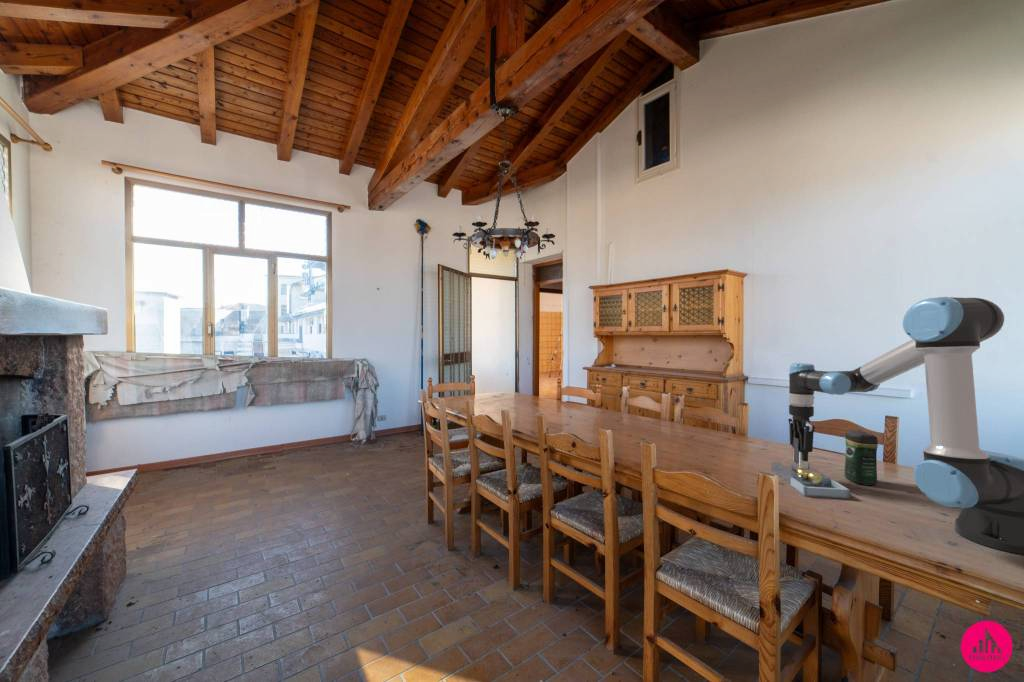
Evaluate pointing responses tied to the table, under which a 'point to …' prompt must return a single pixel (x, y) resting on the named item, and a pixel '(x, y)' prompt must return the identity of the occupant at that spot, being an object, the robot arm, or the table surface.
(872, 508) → the table surface
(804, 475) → the brass round knob
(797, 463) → the stepped gray block
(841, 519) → the table surface
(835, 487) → the tray
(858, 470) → the coffee jar
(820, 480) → the gold dome knob
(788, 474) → the slot board
